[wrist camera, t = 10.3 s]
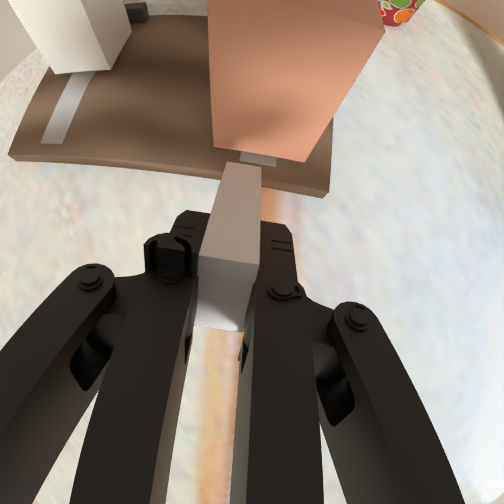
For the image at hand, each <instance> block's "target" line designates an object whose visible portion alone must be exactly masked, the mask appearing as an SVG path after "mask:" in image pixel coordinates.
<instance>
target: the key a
mask: <svg viewBox="0 0 504 504" xmlns="http://www.w3.org/2000/svg"><path fill="white" fill-rule="evenodd" d="M8 1H9V3H10V4H11V6H12V8H13V10H14V11H15V13H16V14H17V16H18V18H19V19H20V21H21V22H22V24H23V26H24V27H25V29H26V31H27V32H28V33H29V35H30V37H31V38H32V40H33V42H34V43H35V45H36V46H37V48H38V49H39V51H40V52H41V54H42V55H43V57H44V58H45V60H46V61H47V63H48V64H49V66H50V67H51V69H52V70H53V72H54V73H55V74H62V73H71V72H82V71H96V70H111V68H112V66H113V64H114V62H115V61H116V59H117V57H118V55H119V53H120V51H121V50H122V48H123V46H124V44H125V43H126V41H127V39H128V37H129V36H130V34H131V32H132V29H131V26H130V23H129V19H128V16H127V12H126V9H125V5H124V2H123V0H8Z"/></svg>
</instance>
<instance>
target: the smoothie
mask: <svg viewBox="0 0 504 504" xmlns="http://www.w3.org/2000/svg"><path fill="white" fill-rule="evenodd" d="M377 1H378V4H379V8H380V12H381V16H382V20H383V24H385V25H389V26H399V25H400V24H401V23H406V22H408V21H409V19H410V18H411V17H412V16H413V14H414V13H415V12H416V11H417V10H418V8H419V7H420V6H421V5H422V3H423V2H424V1H425V0H377Z"/></svg>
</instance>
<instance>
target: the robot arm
mask: <svg viewBox="0 0 504 504" xmlns="http://www.w3.org/2000/svg"><path fill="white" fill-rule="evenodd" d="M260 216H261V167H258V166H252V165H246V164H240V163H233V162H227V163H226V166H225V169H224V172H223V176H222V179H221V182H220V185H219V188H218V192H217V195H216V198H215V201H214V205H213V208H212V211H211V214H209V213H203V212H196V211H189V210H186V211H184V212H183V213H181V214H180V215H179V216H177V218H176V220H175V222H174V224H173V227H172V229H171V231H170V233H163V234H158V235H155V236H153V237H151V238H149V239H148V240H147V241H146V242H145V244H144V259H145V272H144V273H142V274H139V275H135V276H128V277H114V274H113V272H112V271H111V269H109V268H108V267H106V266H105V265H101V264H97V263H96V264H86V265H84V266H81V267H78V268H77V269H76V270H74V271H73V272H72V273H71V274H70V275H69V276H68V277H67V278H66V279H65V280H64V281H63V282H62V283H61V284H60V285H59V286H58V287H57V288H56V289H55V290H54V291H53V292H52V293H51V294H50V295H49V296H48V297H47V298H46V299H45V300H44V301H43V302H42V304H41V305H40V306H39V307H38V308H37V309H36V310H35V311H34V312H33V313H32V314H31V316H30V317H29V318H28V319H27V320H26V321H25V322H24V323H23V325H22V326H21V327H20V328H19V329H18V330H17V332H16V333H15V334H14V335H13V336H12V337H11V339H10V340H9V341H8V342H7V343H6V345H5V346H4V347H3V348H2V350H1V351H0V504H32V503H33V501H34V499H35V497H36V495H37V494H38V492H39V490H40V488H41V486H42V484H43V483H44V481H45V479H46V477H47V475H48V474H49V472H50V470H51V468H52V466H53V465H54V463H55V461H56V459H57V458H58V456H59V454H60V453H61V451H62V449H63V447H64V446H65V444H66V442H67V441H68V439H69V437H70V436H71V434H72V432H73V431H74V429H75V427H76V426H77V424H78V422H79V421H80V419H81V418H82V416H83V414H84V413H85V411H86V409H87V408H88V406H89V405H90V403H91V401H92V400H93V398H94V397H95V395H96V394H97V392H98V390H99V392H98V395H97V398H96V402H95V405H94V408H93V411H92V415H91V418H90V421H89V425H88V428H87V432H86V435H85V439H84V443H83V446H82V450H81V454H80V458H79V462H78V466H77V470H76V475H75V479H74V483H73V488H72V493H71V498H70V503H69V504H165V502H166V495H167V487H168V480H169V473H170V466H171V459H172V453H173V446H174V440H175V434H176V428H177V421H178V416H179V410H180V404H181V398H182V392H183V387H184V381H185V376H186V371H187V365H188V360H189V355H190V350H191V344H192V337H193V326H194V322H195V325H199V326H205V327H211V328H218V329H224V330H231V331H238V332H243V330H244V337H243V341H242V345H241V349H240V353H239V357H238V361H240V367H239V380H238V394H237V407H236V421H235V435H234V448H233V462H232V476H231V491H230V504H324V493H323V471H322V453H321V437H320V425H321V427H322V430H323V433H324V436H325V439H326V442H327V445H328V448H329V451H330V454H331V457H332V460H333V463H334V466H335V469H336V472H337V475H338V478H339V481H340V484H341V487H342V490H343V493H344V496H345V499H346V502H347V504H465V502H464V499H463V497H462V494H461V491H460V489H459V486H458V483H457V481H456V478H455V476H454V473H453V471H452V468H451V466H450V463H449V461H448V459H447V456H446V454H445V452H444V449H443V447H442V445H441V442H440V440H439V438H438V436H437V433H436V431H435V429H434V427H433V425H432V422H431V420H430V418H429V416H428V414H427V412H426V410H425V408H424V405H423V403H422V401H421V399H420V397H419V395H418V393H417V391H416V389H415V387H414V385H413V383H412V381H411V379H410V377H409V375H408V373H407V371H406V370H405V368H404V366H403V364H402V362H401V360H400V358H399V356H398V354H397V352H396V351H395V349H394V347H393V345H392V343H391V341H390V340H389V338H388V336H387V334H386V332H385V331H384V329H383V327H382V325H381V323H380V322H379V320H378V318H377V317H376V315H375V314H374V313H373V312H372V311H371V310H370V309H369V308H367V307H366V306H364V305H362V304H359V303H357V302H348V301H347V302H344V303H340V304H339V305H338V306H337V307H336V308H335V310H333V309H331V308H328V307H325V306H323V305H320V304H318V303H316V302H314V301H312V300H311V299H309V298H308V297H307V296H306V293H305V290H304V288H303V287H302V286H301V285H300V284H299V283H298V280H297V272H296V264H295V255H294V247H293V240H292V233H291V232H290V231H289V229H288V228H287V227H286V225H284V224H278V223H272V222H266V221H260ZM319 422H320V423H319Z"/></svg>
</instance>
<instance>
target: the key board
mask: <svg viewBox="0 0 504 504" xmlns="http://www.w3.org/2000/svg"><path fill="white" fill-rule="evenodd" d="M124 5H125V9H126V12H127V16H128V19H129V23H130V26H131V29H132V32H131V34H130V36H129V37H128V39H127V41H126V43H125V44H124V46H123V48H122V50H121V51H120V53H119V55H118V57H117V59H116V61H115V62H114V64H113V66H112V68H111V70H96V71H82V72H71V73H62V74H55V73H54V72H53V70H52V69H51V67H50V66H49V68H48V70H47V72H46V73H45V75H44V77H43V79H42V80H41V82H40V84H39V86H38V88H37V90H36V92H35V94H34V96H33V97H32V99H31V101H30V104H29V106H28V108H27V110H26V112H25V114H24V116H23V118H22V121H21V123H20V125H19V127H18V130H17V132H16V135H15V137H14V139H13V142H12V145H11V147H10V150H9V152H8V155H9V156H10V157H11V158H13V159H14V160H16V161H30V162H53V163H71V164H85V165H98V166H110V167H121V168H131V169H140V170H149V171H158V172H166V173H174V174H182V175H189V176H197V177H204V178H210V179H217V180H221V179H222V176H223V172H224V169H225V166H226V163H227V162H233V163H240V164H246V165H252V166H258V167H261V187H266V188H271V189H277V190H282V191H287V192H293V193H298V194H303V195H308V196H313V197H318V198H323V197H324V196H325V195H326V194H327V193H328V192H329V185H330V171H331V155H332V135H333V117H332V119H331V120H330V122H329V124H328V125H327V127H326V128H325V130H324V132H323V133H322V135H321V136H320V138H319V140H318V141H317V143H316V145H315V146H314V148H313V149H312V151H311V153H310V154H309V156H308V157H307V159H306V161H305V162H304V163H303V162H298V161H294V160H289V159H284V158H278V157H273V156H268V155H262V154H257V153H251V152H245V151H239V150H232V149H226V148H219V147H214V145H213V128H212V110H211V90H210V67H209V39H208V16H184V15H158V16H149V15H148V10H147V5H146V3H132V4H124Z"/></svg>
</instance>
